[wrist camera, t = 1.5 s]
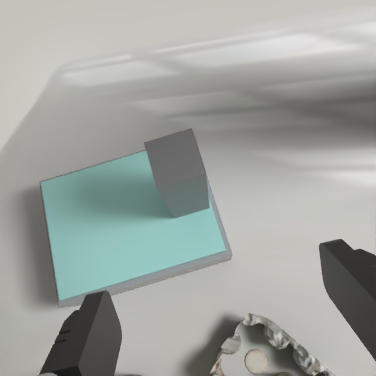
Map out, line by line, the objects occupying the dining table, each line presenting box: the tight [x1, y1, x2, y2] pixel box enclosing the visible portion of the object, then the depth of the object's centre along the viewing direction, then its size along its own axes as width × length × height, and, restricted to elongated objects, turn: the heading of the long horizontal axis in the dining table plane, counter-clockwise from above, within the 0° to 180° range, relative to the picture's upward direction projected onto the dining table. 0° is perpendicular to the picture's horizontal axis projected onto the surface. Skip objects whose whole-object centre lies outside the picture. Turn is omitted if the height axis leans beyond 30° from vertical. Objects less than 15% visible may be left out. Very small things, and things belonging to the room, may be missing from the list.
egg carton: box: [210, 313, 335, 376], centre depth 31 cm, size 11×8×4 cm
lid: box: [41, 129, 226, 301], centre depth 28 cm, size 16×12×11 cm
